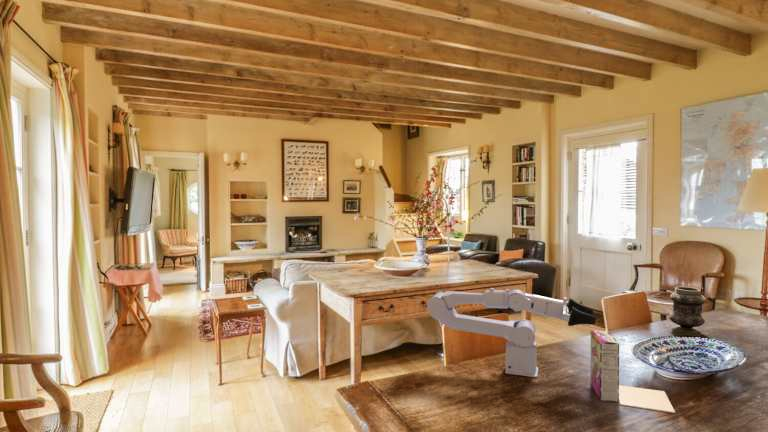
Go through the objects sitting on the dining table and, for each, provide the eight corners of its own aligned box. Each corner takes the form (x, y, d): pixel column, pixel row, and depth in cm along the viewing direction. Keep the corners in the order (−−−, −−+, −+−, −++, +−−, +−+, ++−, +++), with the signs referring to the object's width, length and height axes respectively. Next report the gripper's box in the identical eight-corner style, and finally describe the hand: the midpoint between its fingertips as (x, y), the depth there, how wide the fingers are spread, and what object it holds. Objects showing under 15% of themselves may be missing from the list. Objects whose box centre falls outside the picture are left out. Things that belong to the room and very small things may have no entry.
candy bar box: (589, 384, 132) (589, 329, 131) (607, 385, 131) (608, 330, 130) (599, 401, 121) (600, 341, 120) (619, 402, 120) (620, 342, 119)
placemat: (620, 405, 118) (620, 404, 118) (614, 385, 130) (614, 384, 130) (675, 413, 114) (675, 412, 114) (664, 392, 126) (664, 391, 126)
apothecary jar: (712, 336, 174) (713, 291, 173) (681, 337, 174) (682, 291, 173) (691, 327, 186) (692, 285, 185) (662, 327, 186) (663, 285, 185)
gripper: (549, 300, 131) (599, 311, 126) (548, 288, 144) (594, 297, 140) (544, 323, 132) (594, 334, 127) (544, 309, 145) (589, 319, 141)
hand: (594, 316), depth 134 cm, fingers open, 7 cm apart
